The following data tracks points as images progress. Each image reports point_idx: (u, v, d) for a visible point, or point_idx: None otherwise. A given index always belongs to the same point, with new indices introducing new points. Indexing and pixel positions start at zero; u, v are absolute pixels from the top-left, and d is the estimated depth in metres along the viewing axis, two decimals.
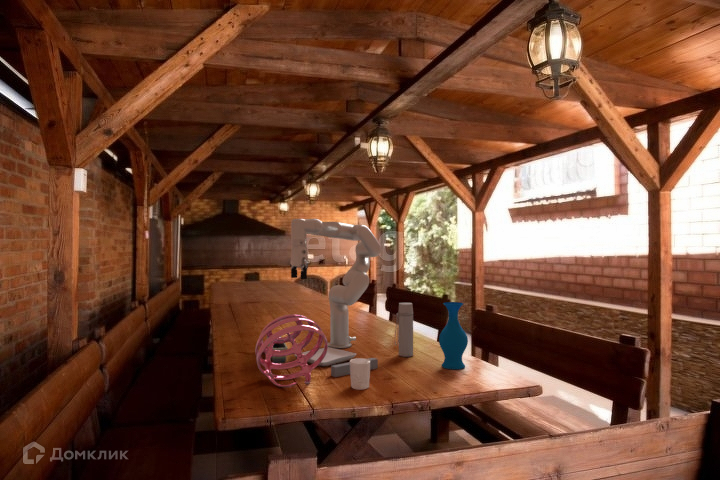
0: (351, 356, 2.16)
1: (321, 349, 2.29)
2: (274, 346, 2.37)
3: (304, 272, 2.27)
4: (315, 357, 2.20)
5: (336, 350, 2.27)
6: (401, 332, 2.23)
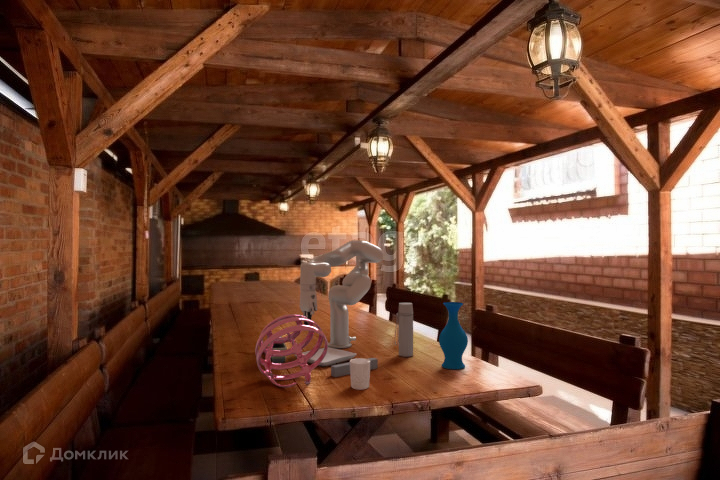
0: (351, 356, 2.16)
1: (321, 349, 2.29)
2: (275, 346, 2.37)
3: None
4: (315, 357, 2.20)
5: (336, 350, 2.27)
6: (401, 332, 2.23)
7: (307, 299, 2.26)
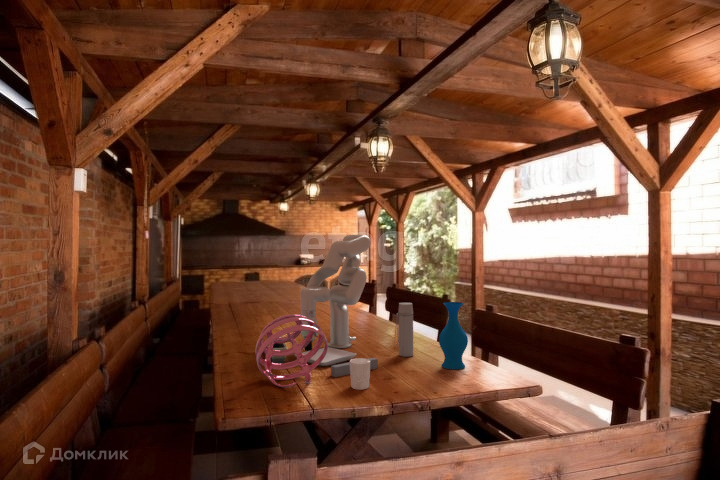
0: (351, 356, 2.16)
1: (321, 349, 2.29)
2: (275, 346, 2.37)
3: (309, 344, 2.29)
4: (315, 357, 2.20)
5: (336, 350, 2.27)
6: (401, 332, 2.23)
7: None
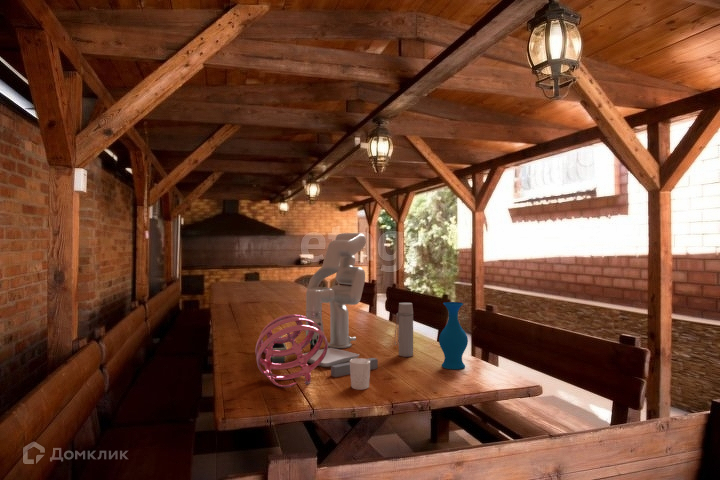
0: (354, 357, 2.14)
1: None
2: (275, 346, 2.37)
3: None
4: None
5: (339, 351, 2.25)
6: (401, 332, 2.23)
7: None
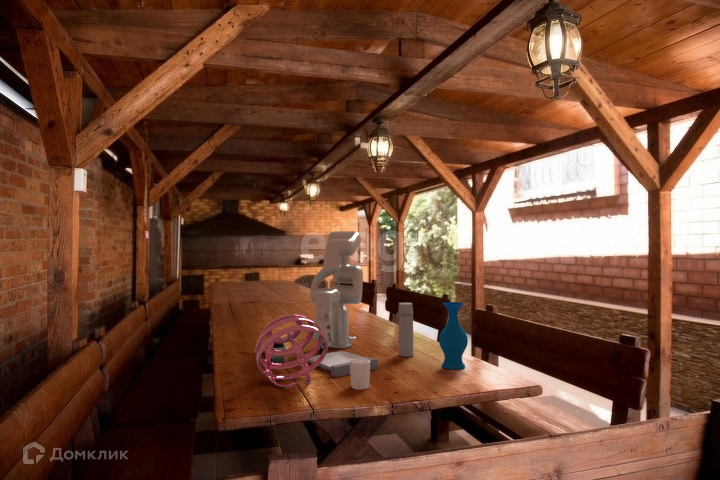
0: None
1: (335, 353, 2.21)
2: (275, 346, 2.37)
3: None
4: (327, 361, 2.13)
5: (350, 354, 2.18)
6: (401, 332, 2.23)
7: (322, 329, 2.15)
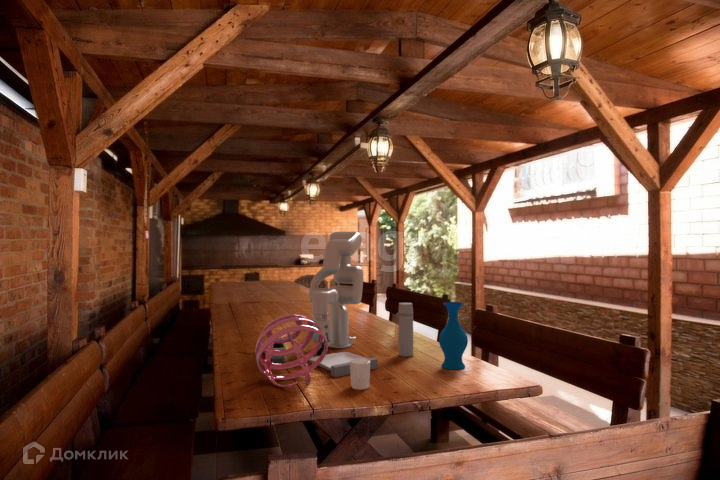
0: None
1: (338, 353, 2.20)
2: (275, 346, 2.37)
3: (322, 349, 2.21)
4: (330, 362, 2.12)
5: (353, 355, 2.17)
6: (401, 332, 2.23)
7: None
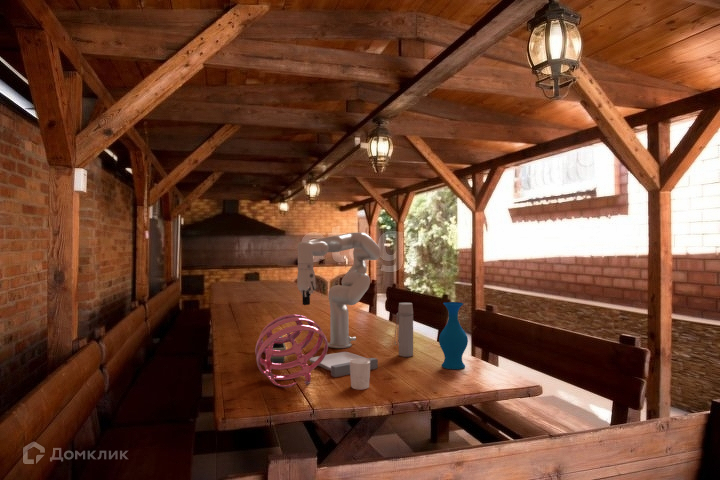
0: None
1: (338, 353, 2.20)
2: (275, 346, 2.37)
3: (307, 298, 2.28)
4: (330, 362, 2.12)
5: (353, 355, 2.17)
6: (401, 332, 2.23)
7: (305, 278, 2.25)
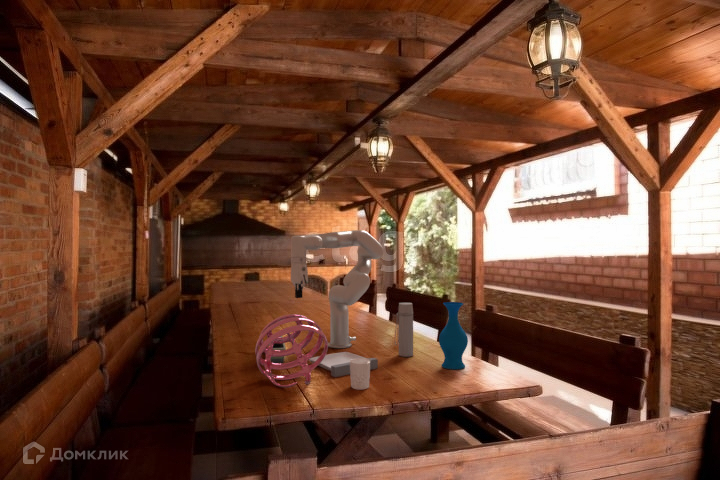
0: None
1: (338, 353, 2.20)
2: (275, 346, 2.37)
3: (300, 291, 2.31)
4: (330, 362, 2.12)
5: (353, 355, 2.17)
6: (401, 332, 2.23)
7: (298, 271, 2.28)
